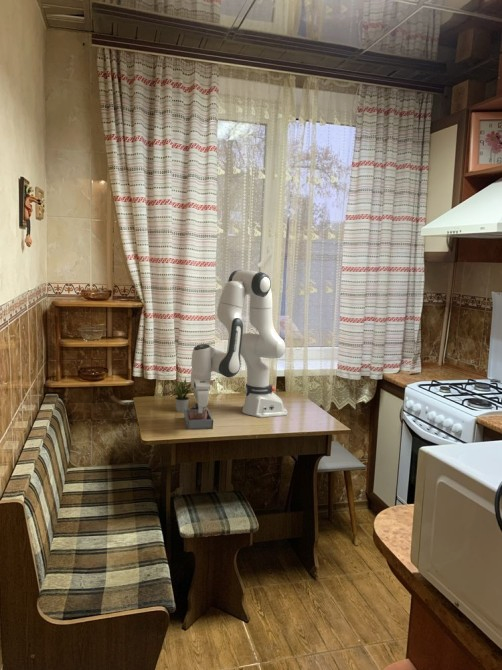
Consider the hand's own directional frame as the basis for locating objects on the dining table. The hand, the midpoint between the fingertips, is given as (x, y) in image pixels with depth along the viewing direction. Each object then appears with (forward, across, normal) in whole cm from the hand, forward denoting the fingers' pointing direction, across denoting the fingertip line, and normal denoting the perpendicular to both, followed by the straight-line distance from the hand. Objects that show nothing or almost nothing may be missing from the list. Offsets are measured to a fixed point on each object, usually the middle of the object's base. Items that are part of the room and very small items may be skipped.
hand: (199, 410), depth 235 cm
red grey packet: (+7, 0, 0) cm, 7 cm away
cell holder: (+7, -4, 0) cm, 8 cm away
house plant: (+7, -22, -5) cm, 24 cm away
